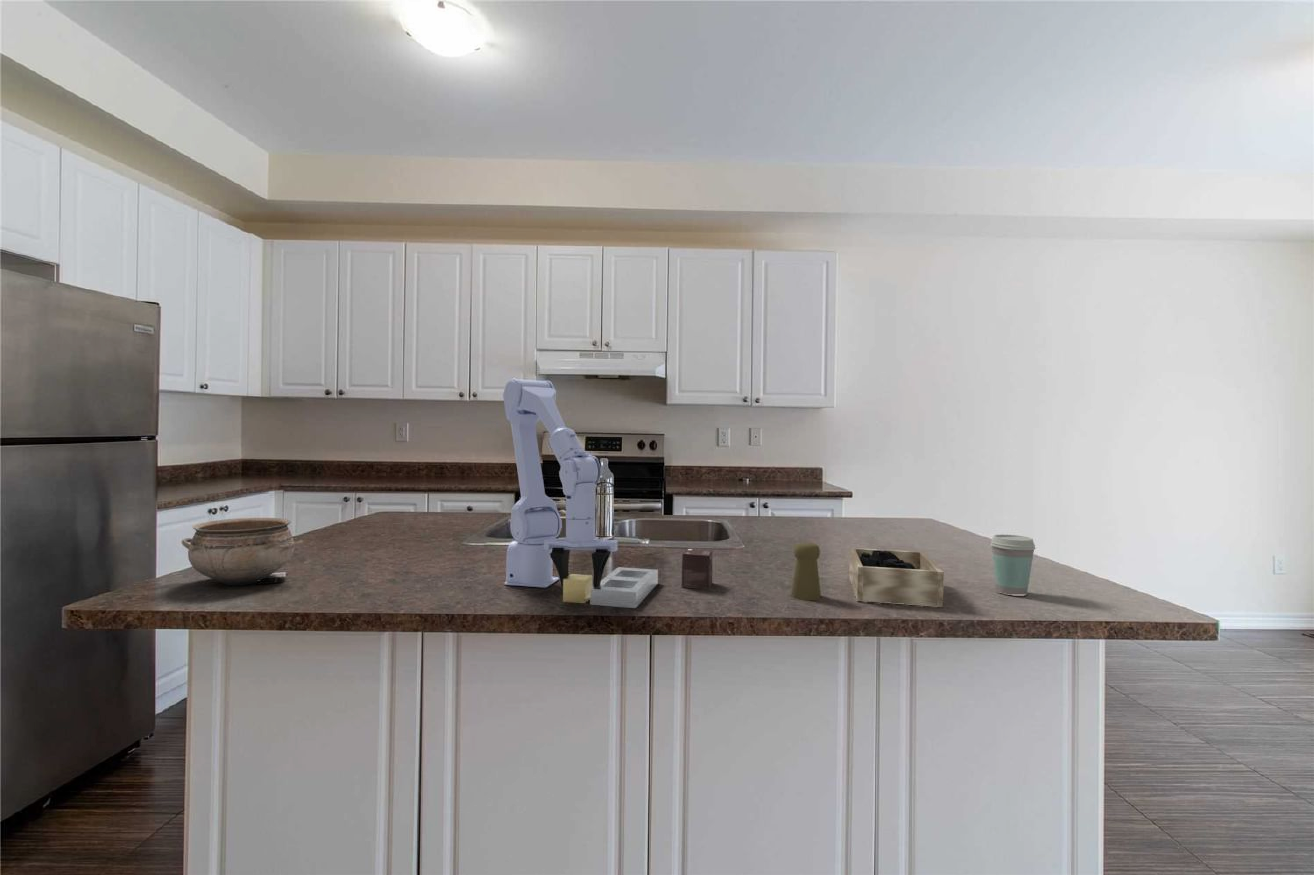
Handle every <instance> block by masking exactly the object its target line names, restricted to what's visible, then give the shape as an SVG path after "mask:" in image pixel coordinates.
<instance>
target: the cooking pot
mask: <svg viewBox="0 0 1314 875" xmlns="http://www.w3.org/2000/svg"><path fill="white" fill-rule="evenodd" d="M290 523H291V520H290V519H286V518H278V517H241V518H240V517H239V518H229V519H220V520H219V519H218V520H212V521H205V522H199V523H197V524H194V525H192V529H193V530H194V531H195V533H194V534H193V537H192V538H191V537H186V538H183V539H182V540H181V544H182V546H183V547H184V548H186V549H187V550H188V551H187V556H188V561H189V563H190V565H191V567H192V568H193V569H194V570H195V571H196V572H198V573H199V574H200V575H203V576H205V577H207V578H209V579H212V580H214V581H217V582H219V583H222V584H224V585H226V586H243V585H252V584H255V583H258V582H257V581H258V580H261V579H262V580H264V579H265V578H267V577H268V576H270V575H272V574H274V573H276V572H277V571H279V570H280V569H282V568H283V567H284V566H285V565H287V563H288V562H289V561H290V559H291V558H292V556H293V554H294V551H295V548H297V547H299V546H302V545H303V544H304V540H303V539H300V540H297V541H294V538H293V535H292V532H291V530H290V528H289V526H288V525H289V524H290ZM263 578H264V579H263ZM262 580H261V581H262Z"/></svg>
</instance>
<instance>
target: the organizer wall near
mask: <svg viewBox="0 0 1314 875" xmlns="http://www.w3.org/2000/svg"><path fill="white" fill-rule="evenodd" d="M937 599H938V571H934V570H917V569H901V568H884V567H868V566H863V600H862V601H876V602H891V603H904V604H914V605H925V606H937Z"/></svg>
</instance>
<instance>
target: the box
mask: <svg viewBox="0 0 1314 875" xmlns="http://www.w3.org/2000/svg"><path fill="white" fill-rule="evenodd" d="M681 557H682V558H681V588H685V589H686V588H688V589H689V588H690V589H692V588H693V589H704V590H708V589H710V588H711V586H712V584H713V549H711V550H710V549H697V548H696V549H694V548H693V549H692V548H687V549H685V550H684V551H683V552H682V555H681Z"/></svg>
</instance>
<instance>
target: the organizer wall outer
mask: <svg viewBox="0 0 1314 875" xmlns="http://www.w3.org/2000/svg"><path fill="white" fill-rule="evenodd" d="M919 552H920V564H919V570H934V571H938V599H937V606H938V607H944V581H945V580H944V576H945V575H944V574H945V573H944V571H943V570H942V569H941V568H940V567H939V566H938V565H937V564H936V563H935V562H934V561H933V560H932V559H931V558H930V556H929V555H927V554H926V553H925V552H924V551H919Z"/></svg>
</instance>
